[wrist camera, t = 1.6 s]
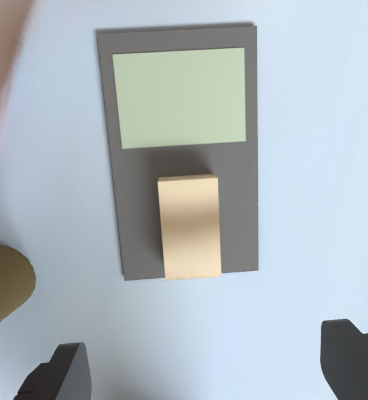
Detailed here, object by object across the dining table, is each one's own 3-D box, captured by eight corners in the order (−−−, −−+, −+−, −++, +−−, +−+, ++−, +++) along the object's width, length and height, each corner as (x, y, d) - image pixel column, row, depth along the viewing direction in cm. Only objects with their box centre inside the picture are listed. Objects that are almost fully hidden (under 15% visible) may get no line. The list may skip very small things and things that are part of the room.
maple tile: (216, 263, 26) (221, 276, 24) (166, 267, 26) (165, 280, 24) (213, 173, 25) (217, 177, 22) (158, 177, 24) (157, 181, 22)
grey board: (257, 268, 27) (258, 270, 26) (125, 278, 27) (124, 281, 26) (255, 27, 23) (257, 25, 22) (98, 35, 22) (96, 33, 22)
